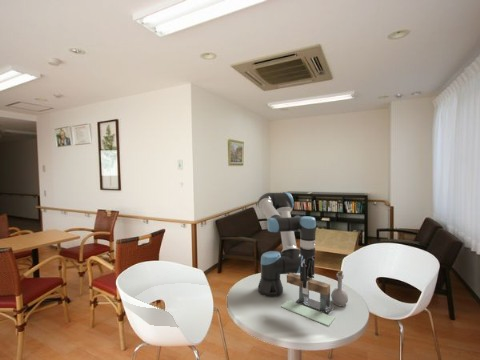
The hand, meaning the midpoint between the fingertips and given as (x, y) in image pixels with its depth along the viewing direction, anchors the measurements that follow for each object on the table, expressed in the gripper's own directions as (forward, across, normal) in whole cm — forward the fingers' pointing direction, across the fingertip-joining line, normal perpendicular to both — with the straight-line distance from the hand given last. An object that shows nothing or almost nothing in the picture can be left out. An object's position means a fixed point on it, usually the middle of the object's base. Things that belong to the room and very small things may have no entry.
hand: (307, 291), depth 131 cm
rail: (-2, 0, 0) cm, 2 cm away
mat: (+11, 0, 0) cm, 11 cm away
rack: (+11, +9, 0) cm, 14 cm away
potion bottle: (+11, +20, -10) cm, 25 cm away
